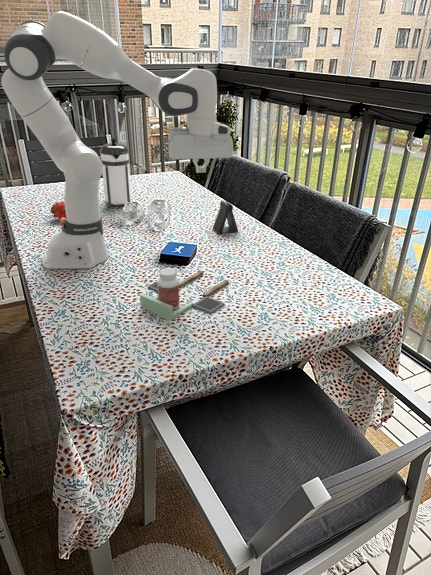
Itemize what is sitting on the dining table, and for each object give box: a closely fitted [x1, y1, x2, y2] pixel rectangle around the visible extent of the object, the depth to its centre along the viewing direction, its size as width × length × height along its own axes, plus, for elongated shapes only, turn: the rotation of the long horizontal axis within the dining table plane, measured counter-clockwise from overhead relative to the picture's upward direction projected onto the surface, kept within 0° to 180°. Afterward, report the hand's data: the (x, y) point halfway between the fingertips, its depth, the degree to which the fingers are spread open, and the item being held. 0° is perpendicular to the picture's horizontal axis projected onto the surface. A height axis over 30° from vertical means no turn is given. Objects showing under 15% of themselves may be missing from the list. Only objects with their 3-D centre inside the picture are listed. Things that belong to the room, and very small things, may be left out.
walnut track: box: [179, 270, 230, 298], centre depth 141 cm, size 12×11×1 cm
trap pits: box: [147, 280, 225, 315], centre depth 135 cm, size 7×25×1 cm, turn 54°
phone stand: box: [212, 200, 239, 235], centre depth 181 cm, size 9×6×12 cm, turn 112°
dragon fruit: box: [49, 200, 67, 221], centre depth 189 cm, size 8×8×12 cm
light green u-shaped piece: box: [139, 293, 194, 321], centre depth 128 cm, size 10×11×4 cm
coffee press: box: [99, 137, 132, 209], centre depth 204 cm, size 17×16×30 cm
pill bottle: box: [157, 267, 180, 311], centre depth 127 cm, size 6×6×11 cm
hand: (200, 172), depth 144 cm, fingers closed
